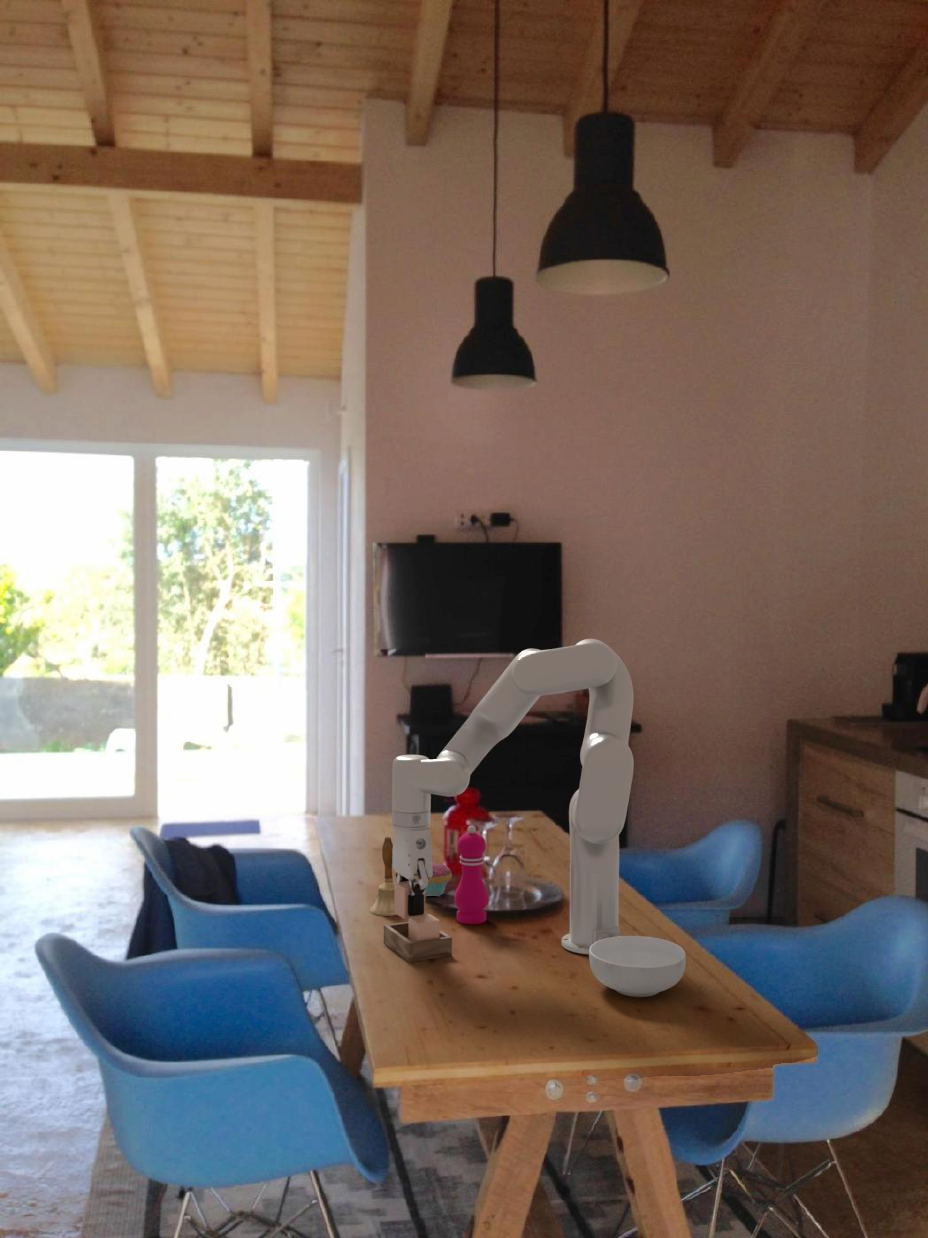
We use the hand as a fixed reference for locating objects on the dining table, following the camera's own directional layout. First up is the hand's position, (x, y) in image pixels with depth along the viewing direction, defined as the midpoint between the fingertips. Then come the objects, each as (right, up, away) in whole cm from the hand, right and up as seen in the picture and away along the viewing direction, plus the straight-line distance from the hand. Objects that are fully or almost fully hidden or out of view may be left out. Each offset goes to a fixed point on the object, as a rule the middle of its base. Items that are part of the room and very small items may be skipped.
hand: (410, 910), depth 235 cm
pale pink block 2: (+3, -6, -5) cm, 9 cm away
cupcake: (+4, -6, +37) cm, 38 cm away
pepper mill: (+12, -6, +17) cm, 22 cm away
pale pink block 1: (0, -1, 0) cm, 1 cm away
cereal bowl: (+41, -8, -25) cm, 48 cm away
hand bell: (-6, -6, +24) cm, 26 cm away
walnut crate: (+1, -7, -2) cm, 7 cm away
